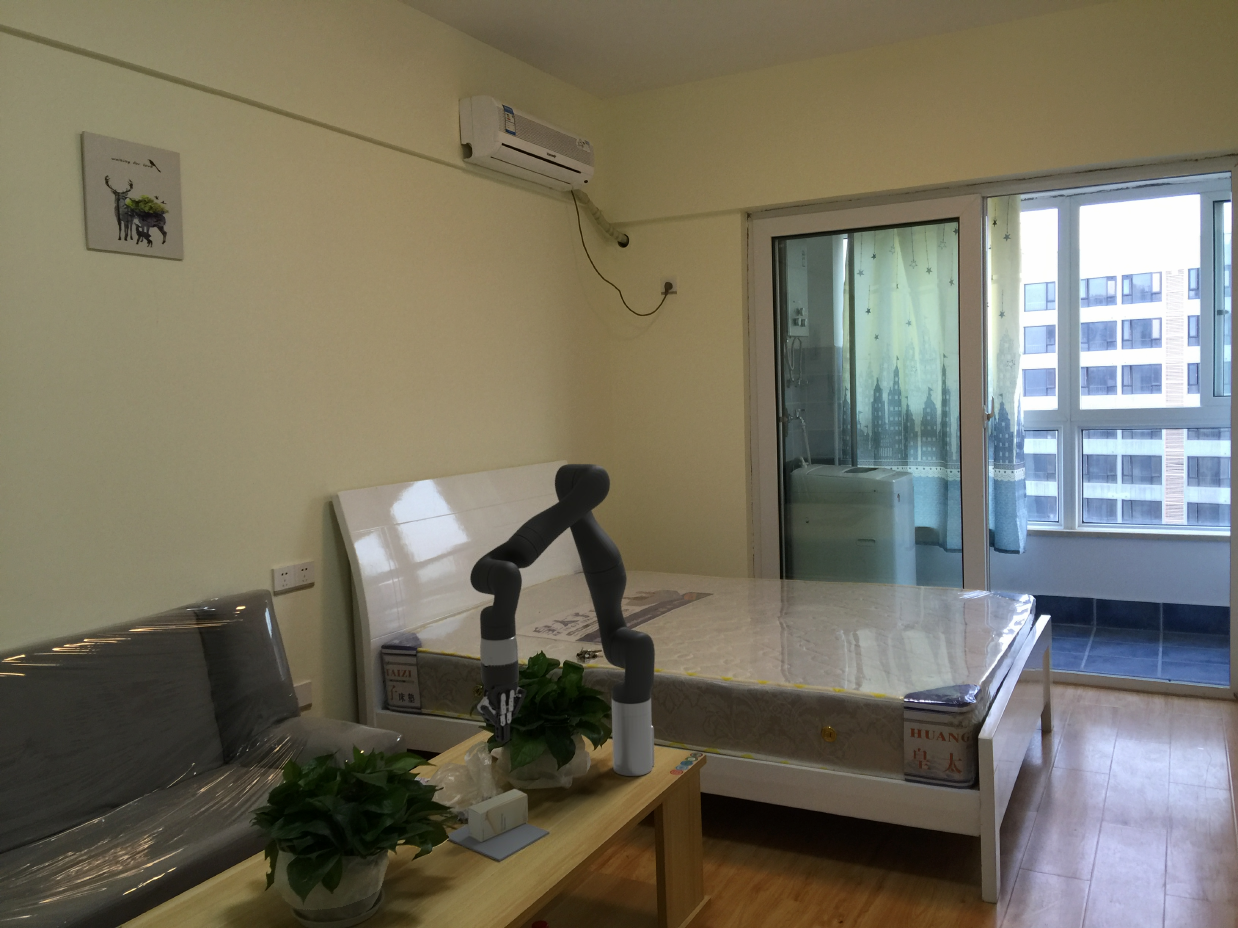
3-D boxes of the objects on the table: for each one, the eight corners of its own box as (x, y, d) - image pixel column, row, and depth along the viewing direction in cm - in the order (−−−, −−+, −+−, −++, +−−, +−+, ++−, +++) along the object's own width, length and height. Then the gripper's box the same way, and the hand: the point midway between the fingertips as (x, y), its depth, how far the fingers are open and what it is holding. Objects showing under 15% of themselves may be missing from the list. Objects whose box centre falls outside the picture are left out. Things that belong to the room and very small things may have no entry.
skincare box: (528, 821, 199) (481, 844, 191) (514, 815, 203) (468, 836, 194) (527, 792, 199) (480, 813, 190) (513, 786, 202) (467, 806, 193)
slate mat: (494, 812, 205) (494, 810, 205) (549, 833, 195) (549, 831, 195) (444, 837, 194) (443, 835, 194) (499, 861, 184) (499, 859, 184)
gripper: (509, 646, 201) (512, 727, 202) (462, 663, 190) (465, 747, 192) (535, 652, 196) (538, 734, 198) (488, 669, 186) (492, 756, 187)
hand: (502, 740), depth 195 cm, fingers closed
